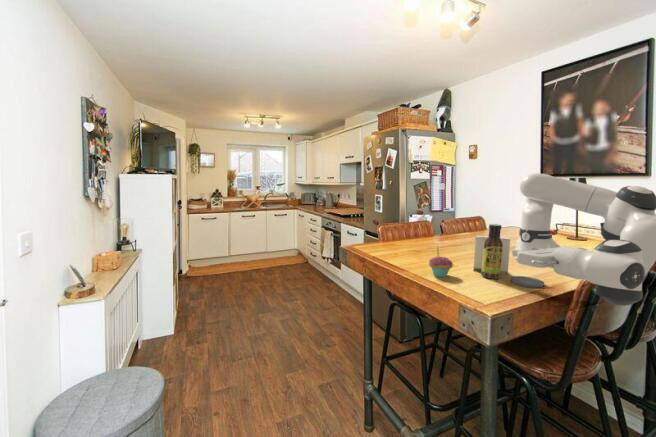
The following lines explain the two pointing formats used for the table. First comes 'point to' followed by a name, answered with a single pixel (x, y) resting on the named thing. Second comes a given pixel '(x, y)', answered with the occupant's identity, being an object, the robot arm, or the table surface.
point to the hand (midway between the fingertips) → (523, 251)
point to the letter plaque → (479, 254)
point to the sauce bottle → (492, 253)
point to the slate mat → (527, 281)
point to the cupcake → (440, 265)
